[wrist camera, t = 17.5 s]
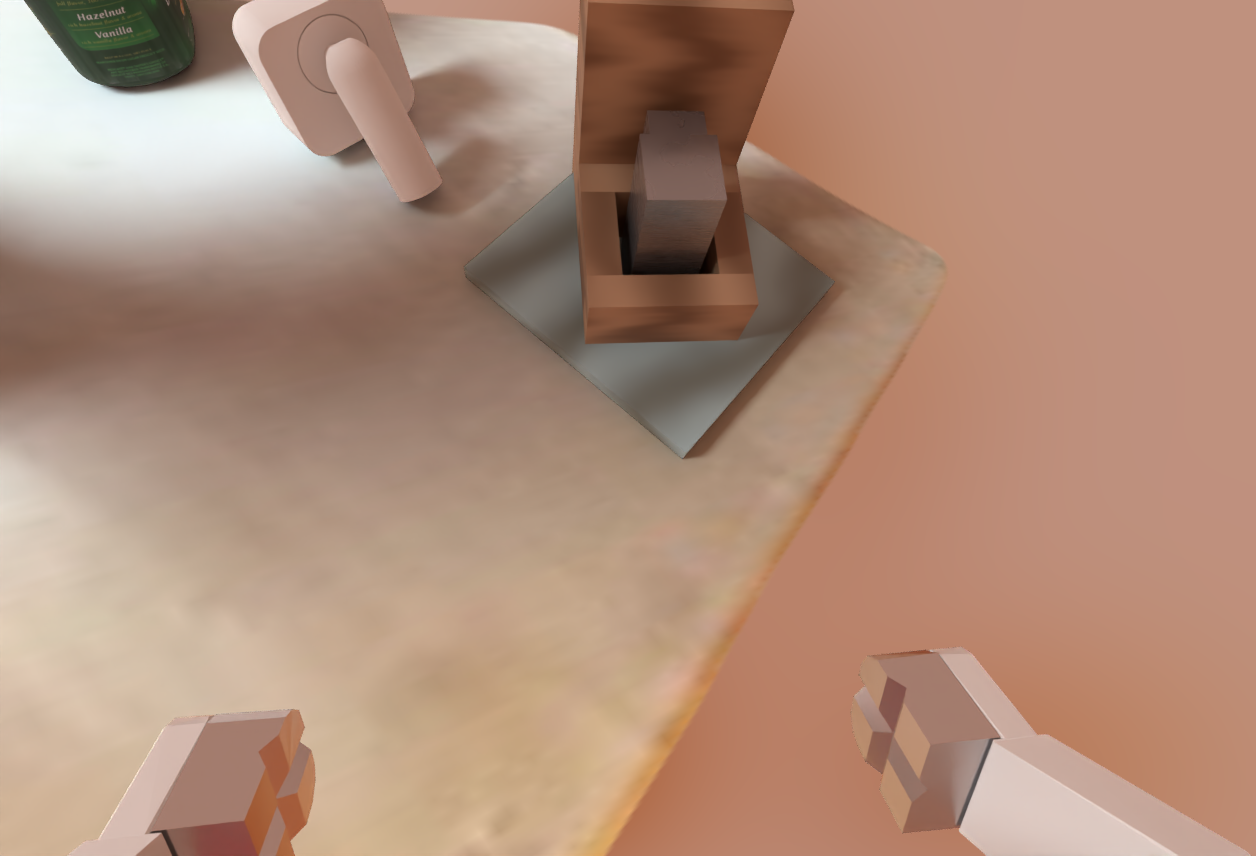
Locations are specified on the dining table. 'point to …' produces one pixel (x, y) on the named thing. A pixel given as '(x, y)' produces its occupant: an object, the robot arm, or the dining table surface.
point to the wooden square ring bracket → (596, 211)
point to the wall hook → (338, 82)
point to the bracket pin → (673, 196)
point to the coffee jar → (120, 37)
